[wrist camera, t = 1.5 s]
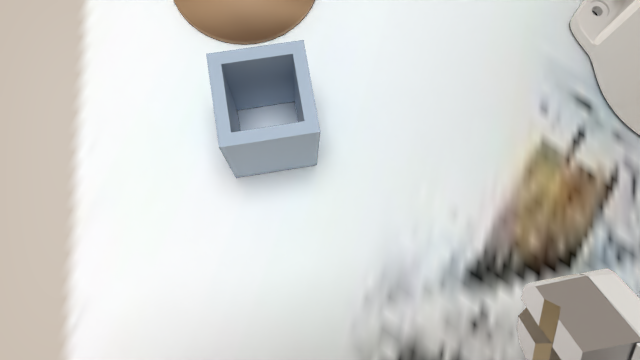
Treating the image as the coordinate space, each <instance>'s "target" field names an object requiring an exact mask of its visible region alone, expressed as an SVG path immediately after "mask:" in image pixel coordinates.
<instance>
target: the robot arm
mask: <svg viewBox="0 0 640 360" xmlns="http://www.w3.org/2000/svg"><path fill="white" fill-rule="evenodd" d="M592 11H594V12H596V13H597V15H598V16H596V15H594V14H593V12H592ZM570 27H571V30H572V33H573V34H574V36H575V38H576V39H577V40H578V42H579V43H580V44H581V46H582V47H583V48H584V50H585V51H586V52H587V53H588V55H589V57H590V59H591V61H592V64H593V67H594V71H595V74H596V78H597V81H598V84H599V86H600V89H601V91H602V93H603V95H604V97H605V99H606V100H607V102H608V103H609V105H610V106H611V108H612V109H613V111H614V112H615V113H616V114H617V115H618V117H619V118H620V119H621V120H622V121H623V122H624V123H625V124H626V125H627V126H629V127H630V128H631V129H632V130H633V131H635V132H636V133H637V134H639V135H640V0H584V1H583V2H582V4H581V5H580V6H579V8H578V9H577V11H576V12H575V14H574V15H573V17H572V19H571V21H570ZM521 300H522V301H523V303H524V304H525V306H526V308H525V309H524V311H523V312H522V313H521V314H520V315H519V316H518V323H517V333H518V338H519V344H520V346H521V349H522V351H523V354H524V356H525V358H526V359H527V360H640V298H639V297H638V296H637V295H636V294H635V293H634V292H633V291H632V290H631V289H630V288H629V287H628V286H627V285H626V284H625V282H624V281H623V280H622V279H621V278H620V277H619V276H618V275H617V274H616V273H615V272H614V271H612V270H610V269H608V268H606V269H601V270H595V271H590V272H585V273H580V274H572V275H567V276H562V277H557V278H552V279H547V280H542V281H536V282H531V283H527V284H526V285H525V287H524V288H523V291H522V296H521Z"/></svg>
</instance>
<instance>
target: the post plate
mask: <svg viewBox="0 0 640 360" xmlns="http://www.w3.org/2000/svg"><path fill="white" fill-rule="evenodd" d="M314 1H315V0H174V2H175V4H176V6H177V7H178V9H179V11H180V12H181V14H182V15H183V16H184V18H185V19H186V20H187V21H188V22H189V23H190V24H191V25H192V26H193V27H195V28H196V29H197V30H198V31H200V32H202V33H203V34H205V35H207V36H209V37H211V38H214V39H216V40H219V41H223V42H227V43H233V44H256V43H261V42H266V41H269V40H272V39H275V38H277V37H279V36H281V35H283V34H285V33H287V32H288V31H290V30H291V29H293V28H294V27H295V26H296V25H297V24H299V23H300V22H301V21H302V19H303V18H304V17H305V16H306V15H307V13H308V12H309V10H310V9H311V7H312V5H313V3H314Z"/></svg>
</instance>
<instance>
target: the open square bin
mask: <svg viewBox="0 0 640 360" xmlns="http://www.w3.org/2000/svg"><path fill="white" fill-rule="evenodd" d="M206 56H207V63H208V70H209V77H210V85H211V92H212V99H213V106H214V114H215V121H216V128H217V136H218V143H219V148H220V150H221V152H222V154H223V155H224V157H225V159H226V161H227V162H228V164H229V166H230V168H231V170H232V171H233V173H234V175H235V177H236V178H239V177H245V176H251V175H257V174H264V173H270V172H276V171H282V170H289V169H295V168H301V167H307V166H314V165H317V156H318V147H319V138H320V128H319V122H318V117H317V111H316V106H315V100H314V95H313V89H312V84H311V78H310V73H309V67H308V62H307V56H306V51H305V45H304V40H300V41H293V42H286V43H279V44H272V45H265V46H258V47H251V48H244V49H237V50H230V51H223V52H216V53H209V54H206ZM288 102H295V107H296V113H297V119H298V122H296V123H289V124H283V125H276V126H270V127H263V128H257V129H250V130H244V131H240V126H239V119H238V113H237V110H242V109H249V108H255V107H262V106H268V105H275V104H282V103H288Z"/></svg>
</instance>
